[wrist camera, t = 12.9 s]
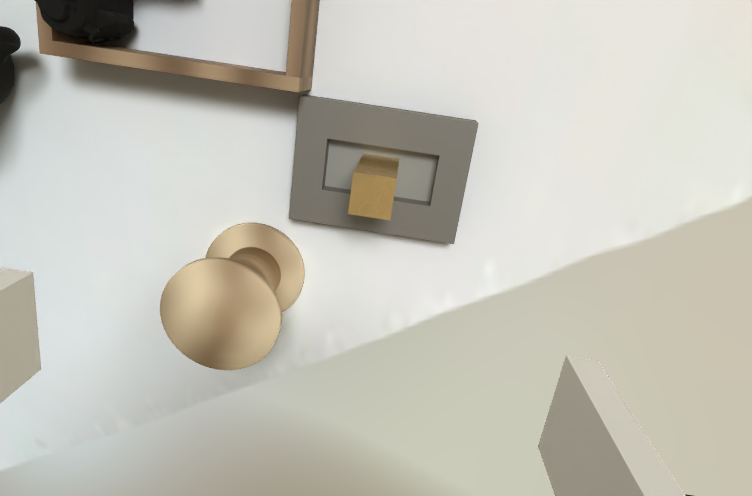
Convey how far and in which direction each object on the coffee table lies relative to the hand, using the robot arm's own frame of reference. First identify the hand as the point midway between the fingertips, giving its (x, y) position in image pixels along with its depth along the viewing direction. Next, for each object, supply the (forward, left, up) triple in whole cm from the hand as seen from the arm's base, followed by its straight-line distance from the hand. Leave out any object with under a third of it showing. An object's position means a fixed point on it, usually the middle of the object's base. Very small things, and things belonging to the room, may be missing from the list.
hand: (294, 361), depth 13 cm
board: (0, -1, -33) cm, 33 cm away
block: (0, -2, -32) cm, 32 cm away
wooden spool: (-10, -12, -33) cm, 36 cm away
